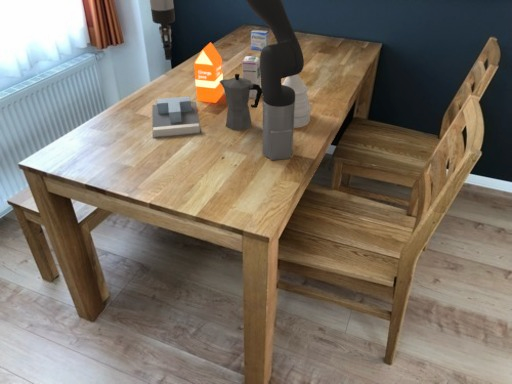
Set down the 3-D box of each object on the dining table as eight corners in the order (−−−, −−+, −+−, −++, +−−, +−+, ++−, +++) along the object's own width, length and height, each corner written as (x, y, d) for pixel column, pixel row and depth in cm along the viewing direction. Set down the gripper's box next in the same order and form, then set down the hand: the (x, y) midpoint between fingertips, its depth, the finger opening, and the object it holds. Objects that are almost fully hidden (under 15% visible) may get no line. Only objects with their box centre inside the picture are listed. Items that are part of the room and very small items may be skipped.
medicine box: (250, 49, 215) (250, 31, 210) (253, 47, 218) (253, 29, 213) (266, 51, 213) (266, 33, 208) (268, 48, 216) (268, 30, 211)
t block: (158, 109, 160) (156, 99, 158) (190, 106, 162) (189, 96, 160) (158, 124, 151) (156, 113, 148) (193, 120, 152) (192, 110, 150)
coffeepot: (215, 126, 149) (211, 76, 139) (227, 115, 156) (225, 66, 146) (256, 135, 144) (256, 83, 134) (267, 123, 151) (268, 73, 140)
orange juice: (223, 94, 171) (221, 42, 160) (216, 103, 165) (212, 50, 153) (205, 92, 173) (201, 41, 161) (196, 101, 166) (191, 48, 155)
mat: (201, 134, 145) (201, 133, 145) (152, 139, 142) (152, 138, 142) (195, 102, 166) (195, 101, 165) (152, 105, 163) (152, 105, 163)
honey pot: (279, 130, 147) (281, 78, 137) (268, 113, 157) (269, 64, 147) (315, 125, 150) (319, 74, 140) (302, 109, 160) (305, 61, 150)
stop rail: (199, 132, 146) (199, 125, 144) (154, 136, 143) (153, 130, 142) (199, 129, 147) (198, 123, 146) (154, 134, 145) (153, 127, 143)
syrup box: (257, 98, 168) (257, 61, 159) (242, 97, 169) (241, 60, 160) (260, 92, 172) (260, 56, 164) (245, 91, 173) (245, 55, 165)
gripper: (174, 11, 140) (180, 64, 150) (172, 1, 151) (178, 51, 161) (150, 12, 139) (158, 65, 149) (150, 2, 150) (157, 52, 160)
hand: (168, 58), depth 155 cm, fingers closed
